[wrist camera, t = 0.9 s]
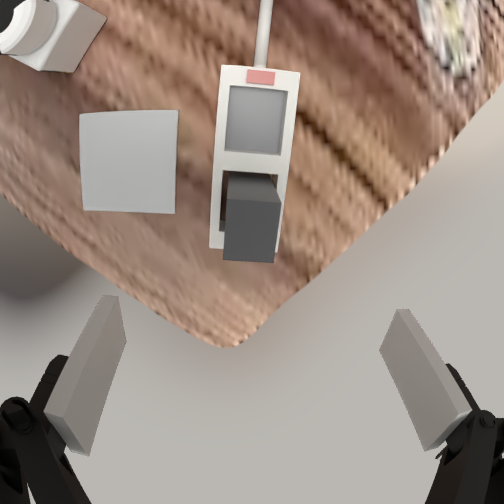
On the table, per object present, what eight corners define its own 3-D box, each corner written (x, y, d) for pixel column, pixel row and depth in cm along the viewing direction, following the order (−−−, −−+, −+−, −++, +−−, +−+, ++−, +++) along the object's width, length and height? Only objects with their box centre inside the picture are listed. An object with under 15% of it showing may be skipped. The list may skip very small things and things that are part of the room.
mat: (81, 113, 27) (79, 114, 27) (178, 110, 28) (178, 110, 28) (84, 209, 32) (83, 210, 32) (175, 212, 33) (174, 213, 33)
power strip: (232, -11, 22) (231, -24, 19) (302, -3, 23) (310, -14, 20) (211, 235, 34) (208, 251, 31) (273, 239, 35) (278, 255, 32)
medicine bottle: (34, 53, 23) (-35, 49, 12) (65, 0, 20) (4, -25, 10) (74, 74, 25) (5, 71, 14) (109, 18, 22) (52, -12, 12)
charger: (229, 169, 31) (226, 198, 22) (268, 172, 32) (281, 202, 23) (226, 215, 34) (222, 259, 25) (263, 217, 34) (273, 262, 25)
